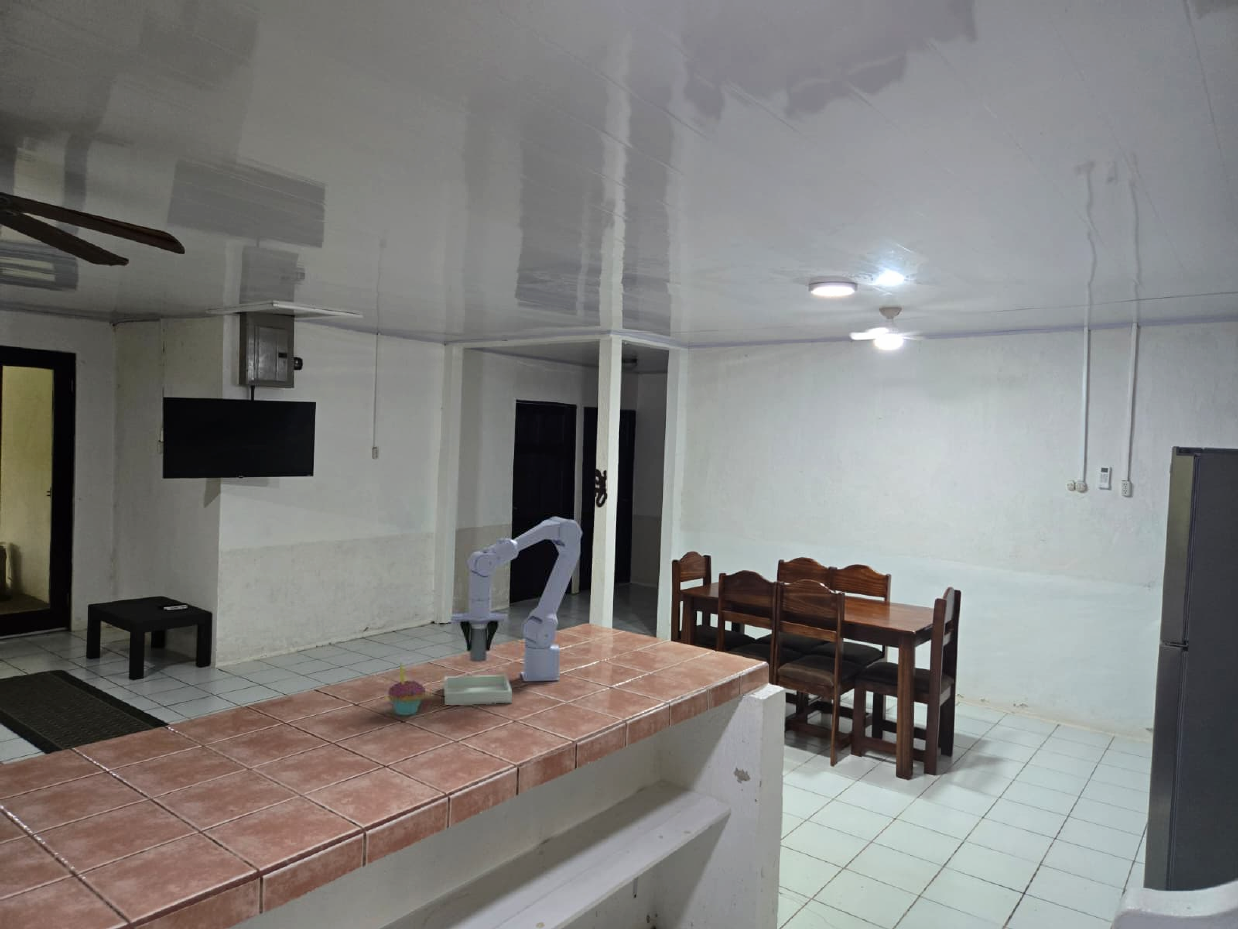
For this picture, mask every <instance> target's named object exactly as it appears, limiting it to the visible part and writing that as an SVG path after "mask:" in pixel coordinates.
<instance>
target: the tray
mask: <svg viewBox="0 0 1238 929" xmlns="http://www.w3.org/2000/svg"><path fill="white" fill-rule="evenodd" d="M443 692H444V693H443V695H444V696H445V697H444V706H445V705H460V706H474V705H473V704H486V705H492V704H491V703H495V704H494V705H497V704H496V703H512V702H513V700H512V699H513V690H512V686H511V684H510V681H509V678H508V675H507V674H491V675H490V674H489V675H464V676H463V675H461V676H460V675H459V676H458V675H457V676H444V678H443ZM488 703H489V704H488ZM512 704H513V703H512Z"/></svg>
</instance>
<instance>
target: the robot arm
mask: <svg viewBox="0 0 1238 929" xmlns="http://www.w3.org/2000/svg"><path fill="white" fill-rule="evenodd" d="M582 536H583V531H582V528H581V526H580V525H579V523H578V522H577V521H576V520H574V519H568V518H567V519H566V518H562V517H559V516H552V517H550V518H548V519H545V520H542V521H541V523H540V524H538V525H536V526H534V527H533V528H531V529H529V530H528V531H525V532H524V533H523V534H520V535H518V537H515V538H514V539H511V538H509V537H506V538H503V537H501V538H499V539H498V541H497V542H496V543H494V544H492V545H490V546H489V547H487V546H485V547H483V550H482V551H480V550H479V551H475V552H472V553H471V554H470V556H469V557H468V559H467V561H465V565H466V568H467V570H468V571H469V585H468V586H469V588H468V613H456V614H451V615H450V624H460V629H461V632H462V633H463V636H464V640H465V643H466V652H470V623H485V622H488V629H487V652H490V651H491V650H490V649H491V645H492V641H493V639H494V636H495V634H496V633H497V631H498V629H499V623H504V624H507V623H508V620H509V619H508V617H509V615H508V614H507V613H494V612H493V613H492V611H491V610H492V584H493V581H492V580H493V574H494V573H495V572H496V570H497V568H499V567H502V566H503V565H504V564H506V563H508V562H510V561H512V560H514V559H516V558H518V555H519V552H520V551H522V550H523V549H526V548H528V547H530V546H532V545H535V544H537V543H539V542H541V541H544V540H549V541H550V540H551V542H552V543H553V544H554V545H555V547H556V550H557V551H558V556H557V559H556V561H555V564H554V565H553V568H552V571H551V573H550V575H549V578H548V580H547V582H546V585H545V588H544V590H543V593H542V595H541V597H540V600H539V603H538V605H537V607H535V608H534V609H532V610H531V611H530V613H529V615H528V617H527V618H526V619H525V620H524V621H523V622H522V624H521V627H520V633H521V636H522V637H523V638H524V654H523V655H524V656H523V657H524V658H523V659H524V660H523V661H524V662H523V671H520V675H521V677H522V680H523V682H539V681H540V682H543V681H544V682H545V681H547V682H548V681H559V680H560V678H559V676H560V675H559V674H560V673H559V672H560V648H559V645H558V644H553V643H554V642H555V640H556V638H557V627H558V625H559V621H558V618H557V617H558V616H557V612H558V610H559V608H560V605H561V603H562V600H563V597H564V595H565V593H566V591H567V589H568V586H569V583H570V581H571V579H572V576H573V573H574V570H575V569H576V566H577V563H578V561H579V559H580V555H581V538H582Z"/></svg>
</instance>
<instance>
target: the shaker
mask: <svg viewBox="0 0 1238 929" xmlns="http://www.w3.org/2000/svg"><path fill="white" fill-rule="evenodd" d="M487 637H488V622H485V623H470V651H469V656H468V658H469V661H470V662H473V663H475V662H476V663H481V662H486V661H487V656H488V654H487V652H488V651H487Z"/></svg>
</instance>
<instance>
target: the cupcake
mask: <svg viewBox="0 0 1238 929" xmlns="http://www.w3.org/2000/svg"><path fill="white" fill-rule="evenodd" d="M399 672H400V673H399V674H400V681H399V682H396V683H394V684H393V686H391V687H390V688H389V690H388V692H387V696H388V697H387V698H388V699H389V700H390V701H391V702H392V704H393V706H394V710H395V714H397V715H399V716H411V714H412V715H414V714H416V713H417V712H418V708H419V705H420V703H421V701H422V700H423V699H424V698H425V697H426V696H427V695H426V689H425V687H424V686H423V685H422V684H421V683H419V682H418V681H415V680H406V681H405V678H404V677H405V676H404V667H403V665H402V663H401V662H400V663H399Z"/></svg>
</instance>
